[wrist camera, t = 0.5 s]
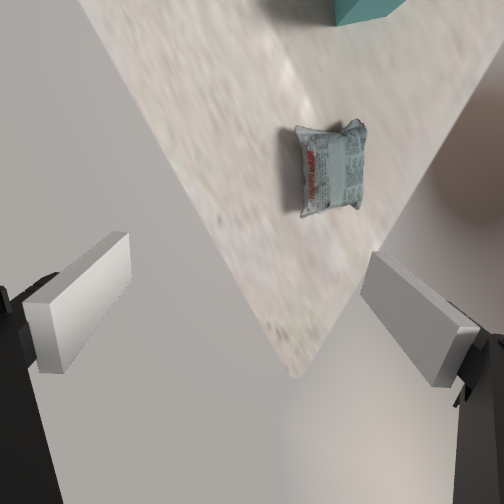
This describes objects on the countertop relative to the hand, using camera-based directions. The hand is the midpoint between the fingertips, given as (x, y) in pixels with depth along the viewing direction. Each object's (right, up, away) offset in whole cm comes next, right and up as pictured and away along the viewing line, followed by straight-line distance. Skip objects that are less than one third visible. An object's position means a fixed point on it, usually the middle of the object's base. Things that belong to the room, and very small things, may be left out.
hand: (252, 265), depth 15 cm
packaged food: (+10, +12, +24) cm, 29 cm away
